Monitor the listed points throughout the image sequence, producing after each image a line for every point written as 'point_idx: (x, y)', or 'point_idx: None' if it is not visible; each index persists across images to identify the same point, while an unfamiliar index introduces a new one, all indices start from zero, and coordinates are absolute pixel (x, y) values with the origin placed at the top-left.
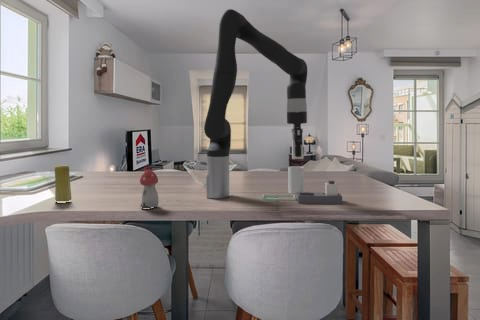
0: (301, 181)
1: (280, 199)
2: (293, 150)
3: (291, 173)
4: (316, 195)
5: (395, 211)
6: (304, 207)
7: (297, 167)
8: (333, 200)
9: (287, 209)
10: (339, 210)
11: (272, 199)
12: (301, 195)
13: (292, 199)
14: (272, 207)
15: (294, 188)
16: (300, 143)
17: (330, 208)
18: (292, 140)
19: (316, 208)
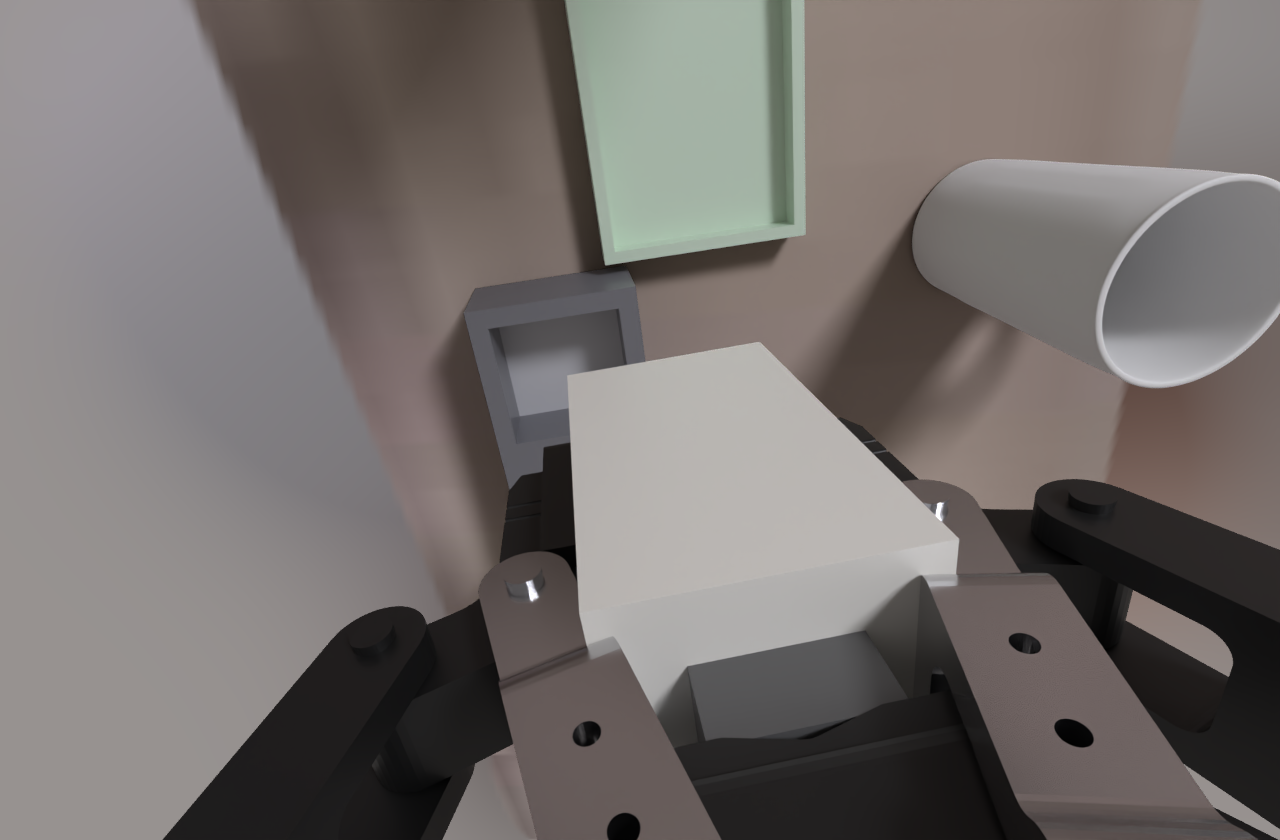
0: (998, 314)
1: (583, 116)
2: (574, 463)
3: (1075, 221)
4: (522, 453)
5: (497, 773)
6: (455, 337)
7: (1265, 296)
8: None
9: (330, 209)
10: (431, 552)
11: (569, 26)
12: (487, 338)
13: (601, 234)
14: (363, 55)
15: (951, 231)
16: (376, 762)
17: (475, 503)
18: (679, 599)
19: (446, 420)
